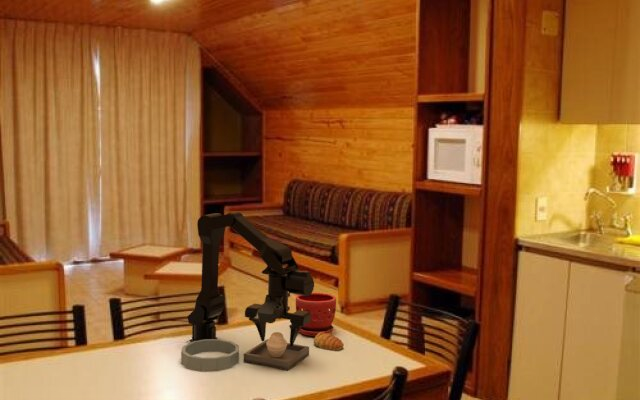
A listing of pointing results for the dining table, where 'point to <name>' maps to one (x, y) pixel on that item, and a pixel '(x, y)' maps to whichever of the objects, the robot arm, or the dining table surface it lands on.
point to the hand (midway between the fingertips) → (277, 343)
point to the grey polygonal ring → (210, 362)
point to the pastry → (328, 341)
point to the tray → (285, 362)
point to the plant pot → (317, 312)
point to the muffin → (276, 344)
